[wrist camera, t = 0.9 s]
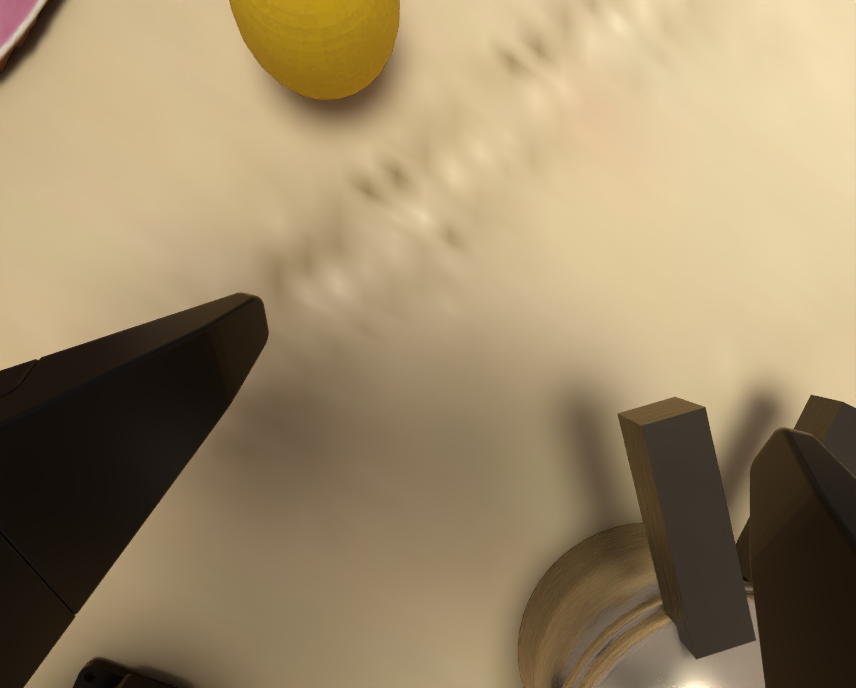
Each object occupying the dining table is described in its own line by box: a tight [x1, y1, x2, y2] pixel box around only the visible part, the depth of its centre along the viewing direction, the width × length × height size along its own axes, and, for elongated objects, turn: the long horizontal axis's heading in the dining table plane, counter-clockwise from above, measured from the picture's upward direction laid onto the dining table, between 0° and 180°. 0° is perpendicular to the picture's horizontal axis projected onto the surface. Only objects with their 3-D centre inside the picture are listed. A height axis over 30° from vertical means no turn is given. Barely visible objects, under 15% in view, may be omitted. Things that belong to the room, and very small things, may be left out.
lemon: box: [229, 0, 400, 100], centre depth 17 cm, size 6×6×8 cm
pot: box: [518, 395, 856, 688], centre depth 21 cm, size 22×13×6 cm, turn 155°
